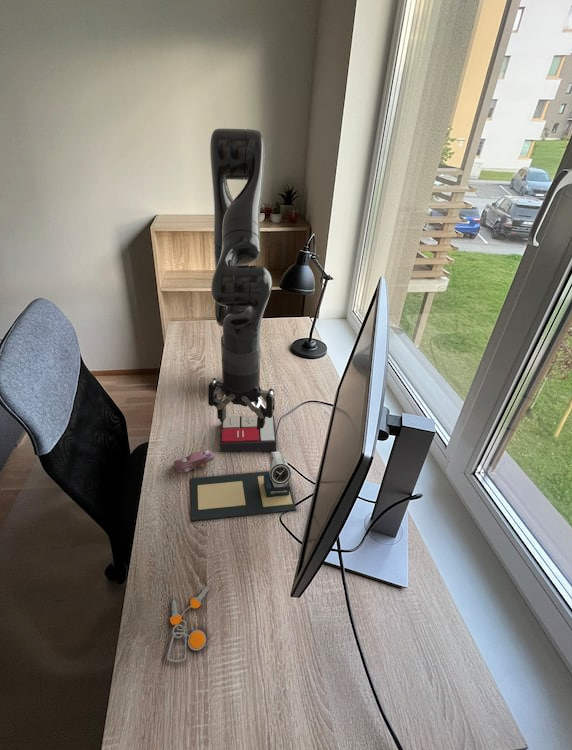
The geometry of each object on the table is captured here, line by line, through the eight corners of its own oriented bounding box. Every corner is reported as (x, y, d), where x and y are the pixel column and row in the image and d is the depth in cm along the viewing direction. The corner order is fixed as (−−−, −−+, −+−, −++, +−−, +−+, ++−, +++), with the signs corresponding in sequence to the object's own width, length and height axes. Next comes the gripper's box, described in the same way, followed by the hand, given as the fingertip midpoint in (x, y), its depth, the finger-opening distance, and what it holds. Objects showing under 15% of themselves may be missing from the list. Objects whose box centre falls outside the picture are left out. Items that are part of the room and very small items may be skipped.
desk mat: (191, 479, 100) (191, 477, 100) (285, 470, 103) (285, 469, 102) (191, 521, 90) (191, 519, 90) (296, 510, 93) (296, 508, 92)
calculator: (221, 414, 115) (273, 412, 114) (222, 425, 117) (273, 423, 117) (219, 441, 106) (276, 440, 105) (220, 453, 108) (276, 451, 108)
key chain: (203, 664, 67) (203, 662, 67) (160, 662, 68) (160, 660, 67) (211, 587, 78) (211, 585, 78) (174, 586, 78) (173, 584, 78)
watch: (267, 504, 93) (269, 472, 87) (262, 477, 100) (263, 445, 94) (291, 502, 94) (294, 470, 88) (284, 475, 101) (287, 444, 94)
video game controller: (178, 479, 102) (180, 471, 96) (172, 463, 104) (174, 454, 98) (214, 466, 106) (218, 457, 100) (207, 450, 107) (211, 441, 101)
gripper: (280, 359, 81) (276, 419, 90) (214, 348, 84) (216, 407, 94) (271, 380, 75) (267, 442, 84) (201, 367, 78) (204, 428, 88)
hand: (241, 423), depth 89 cm, fingers open, 8 cm apart
